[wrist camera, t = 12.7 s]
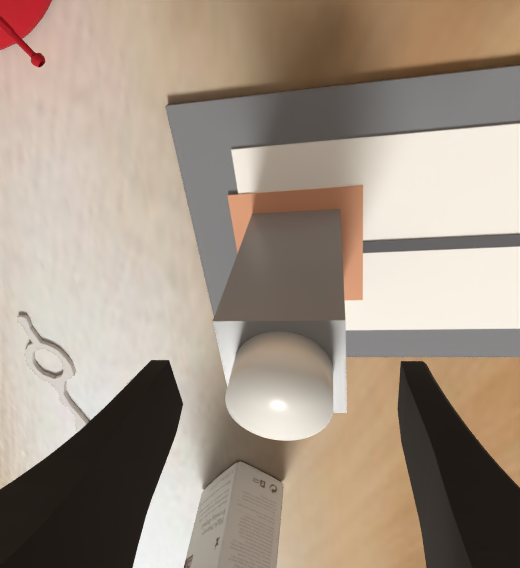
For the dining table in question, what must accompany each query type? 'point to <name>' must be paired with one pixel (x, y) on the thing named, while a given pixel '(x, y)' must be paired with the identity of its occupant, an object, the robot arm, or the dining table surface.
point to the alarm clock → (21, 24)
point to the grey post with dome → (285, 325)
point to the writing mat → (377, 199)
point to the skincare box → (237, 521)
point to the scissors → (54, 380)
